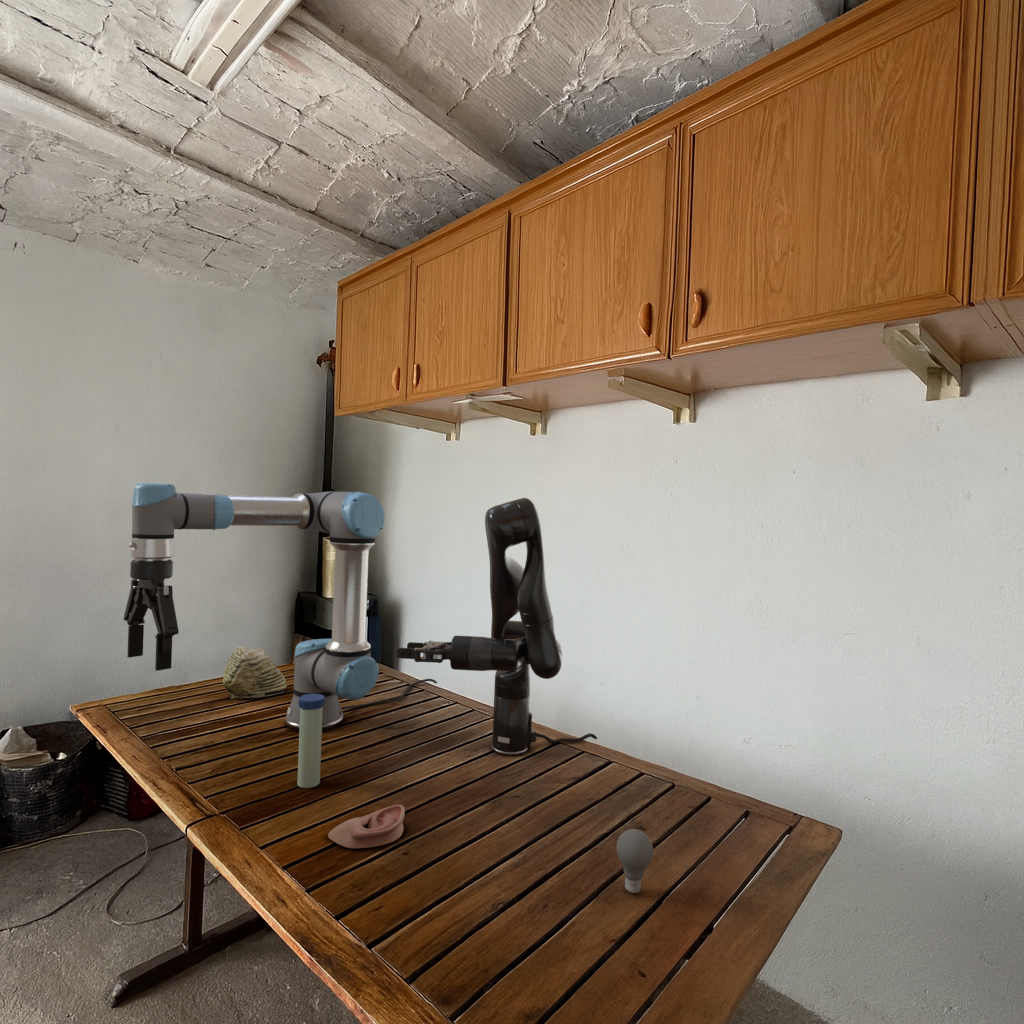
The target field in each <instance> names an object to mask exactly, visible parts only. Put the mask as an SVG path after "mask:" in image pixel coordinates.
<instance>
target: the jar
mask: <svg viewBox="0 0 1024 1024" xmlns="http://www.w3.org/2000/svg"><path fill="white" fill-rule="evenodd" d="M322 712H323V707H321V708H317V709H302V708H300V728H299V731H298V756H297V758H298V759H297V781H296V785H297V786H298V787H299V788H302V789H311V788H315V787H317V786H318V785H320V783H321V765H322V764H321V763H322V762H321V761H322V735H323V731H322Z"/></svg>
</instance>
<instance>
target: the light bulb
mask: <svg viewBox="0 0 1024 1024" xmlns="http://www.w3.org/2000/svg"><path fill="white" fill-rule="evenodd" d="M615 849H616V854H617V857H618V859H619V861H620V863H621V865H622V867H623V873H624V874H623V875H624V876H625V878H624V888H625V890H627V891H628V892H630V893H634V894H635V893H639V892H640V891H641V889H642V887H641V886H642V879H643V877H644V875H645V871H646V868H647V867H648V866H649V864H650V863H651V861H652V859H653V855H654V847H653V843H652V841H651V838H649V836H648V835H647V834H646V833H645V832H643V831H642V830H641V829H636V828H629V829H627V830H625V831H623V832H622V833H621V834H620V835H619V837H618V839H617V841H616V847H615Z"/></svg>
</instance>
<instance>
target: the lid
mask: <svg viewBox="0 0 1024 1024" xmlns="http://www.w3.org/2000/svg"><path fill="white" fill-rule="evenodd" d="M324 705H325V698H324V696H323V695H321V694H306V695H303V696H301V697H300V698H299V707H300V708H302V709H317V708H321V707H323V706H324Z"/></svg>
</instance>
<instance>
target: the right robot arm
mask: <svg viewBox="0 0 1024 1024" xmlns="http://www.w3.org/2000/svg"><path fill="white" fill-rule="evenodd" d="M484 528H485V536H486V542H487V549H488V550H487V551H488V557H489V593H490V605H491V627H490V637H487V636H476V635H475V636H474V635H454V636H453V637H452V639H451V641H435V640H429V641H424V642H415V641H414V642H413V641H409V642H408V643H406V647H399V648H397V650H396V657H397V659H403V660H405V659H406V660H413V661H414V662H415V663H433V664H434V663H437V664H441V663H444V662H443V661H446V660H449V662H450V663H449V664H450V669H452V670H453V671H454V670H455V671H474V672H486V671H487V672H488V671H495V673H494V690H493V713H492V714H493V715H492V739H491V750H492V751H493V752H495V753H496V754H499V755H504V756H519V755H524V754H525V753H527V752H528V751H531V748H532V743H537V738H541V739H544V740H545V741H546V742H547V743H549V744H558V743H564V742H565V743H566V742H567V743H578V742H582V741H585V740H587V739H589V738H592V739H594V740H597V739H599V738H598V737H597V735H595V734H594V733H586V734H584V735H583V736H580V737H576V738H575V737H574V738H571V737H561V738H556V739H551V738H550V737H549V736H548V735H545V734H542V733H538V732H537V731H536V730H534V729H532V727H533V725H532V724H533V713H532V712H530V700H531V698H530V697H531V675H532V672H533V673H534V675H536V676H537V677H538V678H541V679H545V680H549V679H553V678H554V677H556V676H557V675H558V674H559V673H560V671H561V669H562V666H563V646H562V643H560V641H558V640H557V638H556V633H555V619H554V614H553V609H552V605H551V601H550V596H549V591H548V584H547V578H546V566H545V565H546V564H545V551H544V544H543V543H544V542H543V533H542V532H543V531H542V525H541V520H540V515H539V513H538V509H537V507H536V506H535V504H534V502H533V501H532V500H531V499H530V498H528V497H521V498H517V499H514V500H510V501H507V502H504V503H500V504H497V505H494V506H492V507H490V508H488V509H487V510H486V512H485V515H484ZM524 543H525V547H526V559H525V564H524V566H523V564H521V563H520V562H519V561H518V560H516V559H515V557H513V556H511V555H510V554H509V553H508V552H507V551H508V549H509V548H511V547H514V546H517V545H520V544H524ZM518 613H519V617H520V620H511V619H512V618H513V617H515V616H516V615H517V614H518ZM421 654H422V656H421ZM531 671H532V672H531Z"/></svg>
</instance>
